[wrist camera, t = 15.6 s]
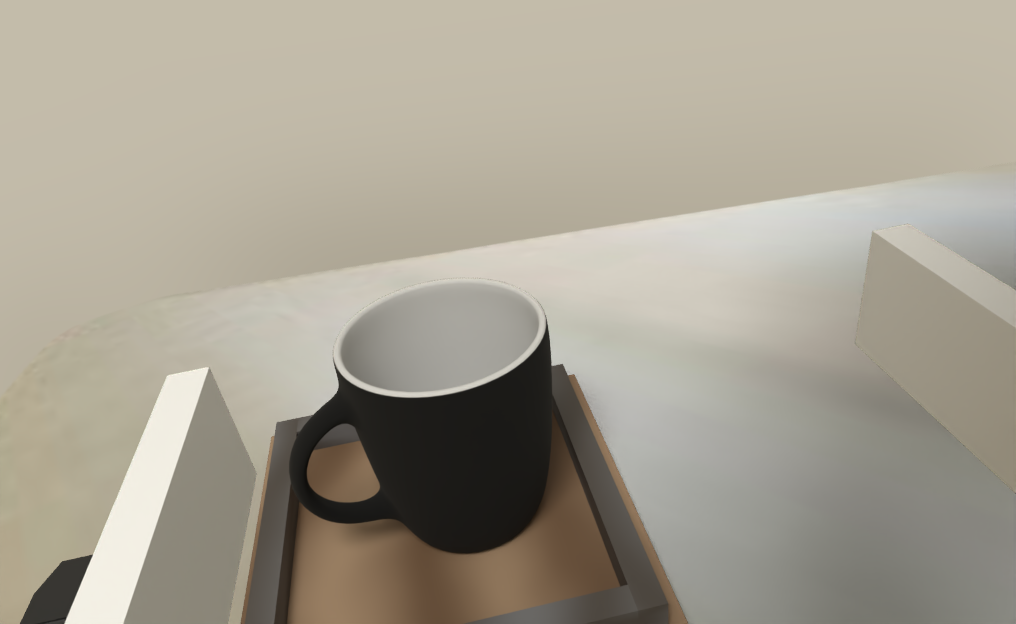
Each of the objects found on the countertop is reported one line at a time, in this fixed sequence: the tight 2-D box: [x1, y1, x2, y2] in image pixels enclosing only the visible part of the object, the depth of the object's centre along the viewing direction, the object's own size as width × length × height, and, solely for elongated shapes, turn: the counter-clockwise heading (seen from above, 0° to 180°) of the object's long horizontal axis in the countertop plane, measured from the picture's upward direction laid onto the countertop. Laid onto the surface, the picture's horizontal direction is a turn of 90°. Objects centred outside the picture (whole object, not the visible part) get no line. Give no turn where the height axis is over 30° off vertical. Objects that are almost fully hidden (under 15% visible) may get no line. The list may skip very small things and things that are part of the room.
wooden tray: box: [241, 364, 688, 624], centre depth 34 cm, size 18×18×3 cm
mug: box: [289, 278, 552, 553], centre depth 31 cm, size 12×9×10 cm
